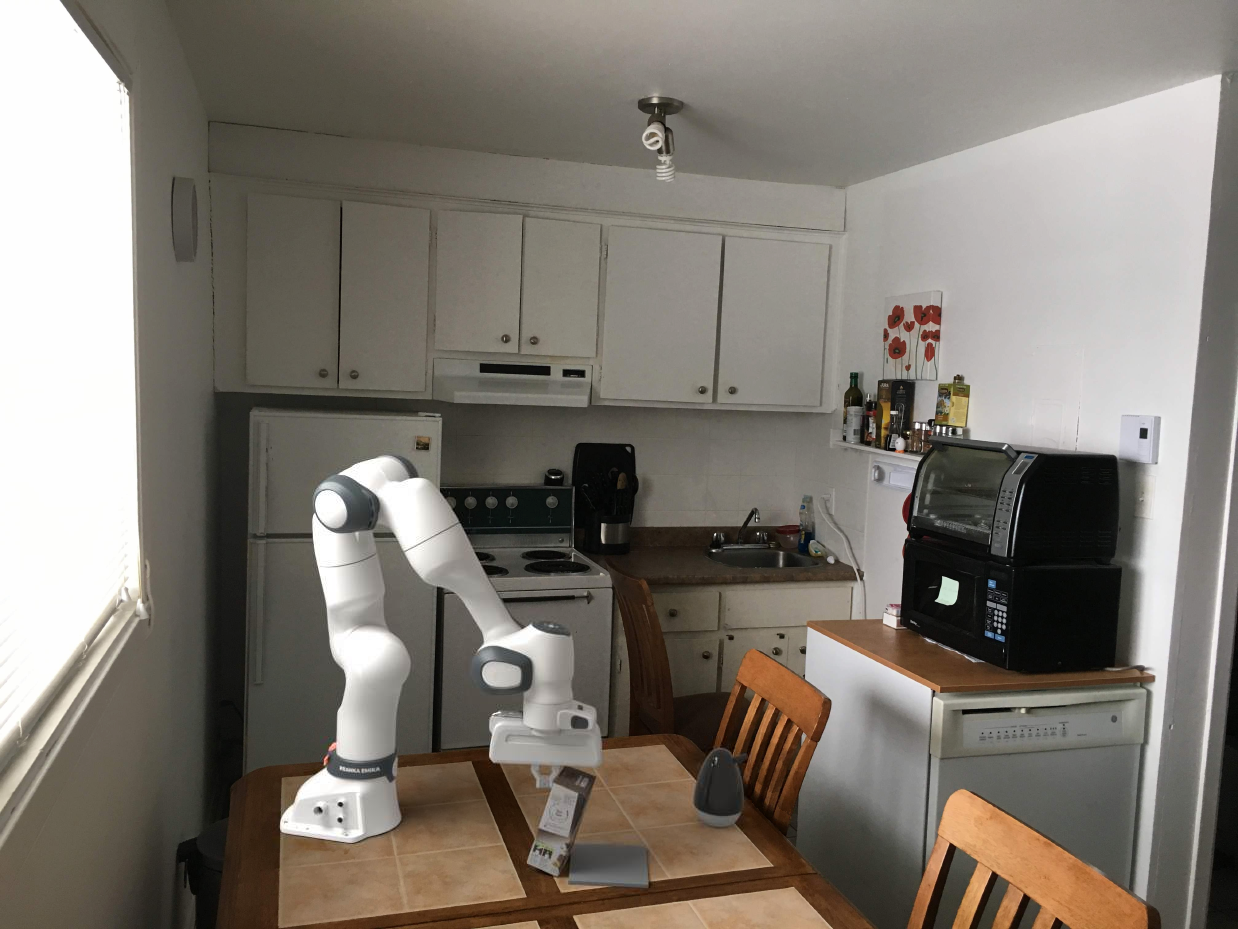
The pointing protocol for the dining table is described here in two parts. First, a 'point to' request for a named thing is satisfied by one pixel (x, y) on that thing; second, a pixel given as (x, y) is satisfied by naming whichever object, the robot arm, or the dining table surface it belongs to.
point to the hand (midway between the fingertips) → (544, 787)
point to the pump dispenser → (719, 789)
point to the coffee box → (561, 820)
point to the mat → (608, 865)
